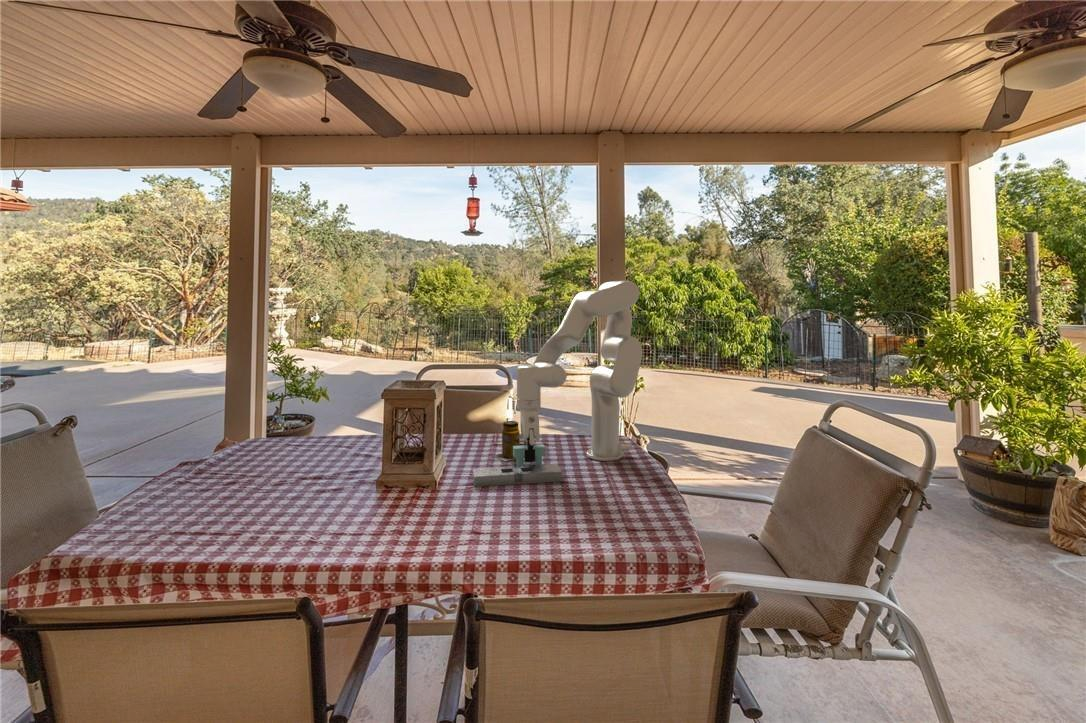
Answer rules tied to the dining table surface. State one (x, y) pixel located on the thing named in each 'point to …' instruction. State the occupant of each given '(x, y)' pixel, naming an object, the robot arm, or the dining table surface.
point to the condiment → (509, 440)
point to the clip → (520, 453)
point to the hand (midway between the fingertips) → (529, 459)
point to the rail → (516, 475)
